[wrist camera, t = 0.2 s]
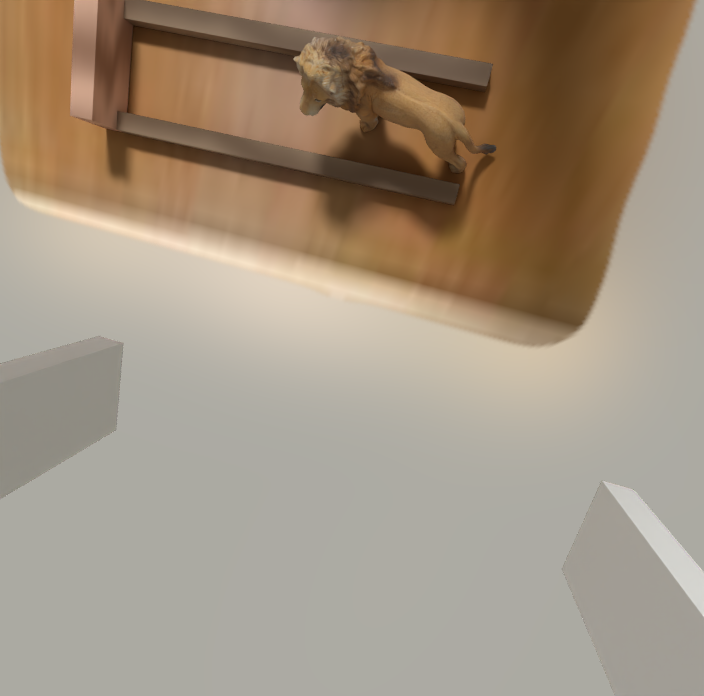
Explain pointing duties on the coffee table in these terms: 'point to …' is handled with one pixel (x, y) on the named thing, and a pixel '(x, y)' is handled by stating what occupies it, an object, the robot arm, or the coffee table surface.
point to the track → (131, 9)
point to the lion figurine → (381, 96)
